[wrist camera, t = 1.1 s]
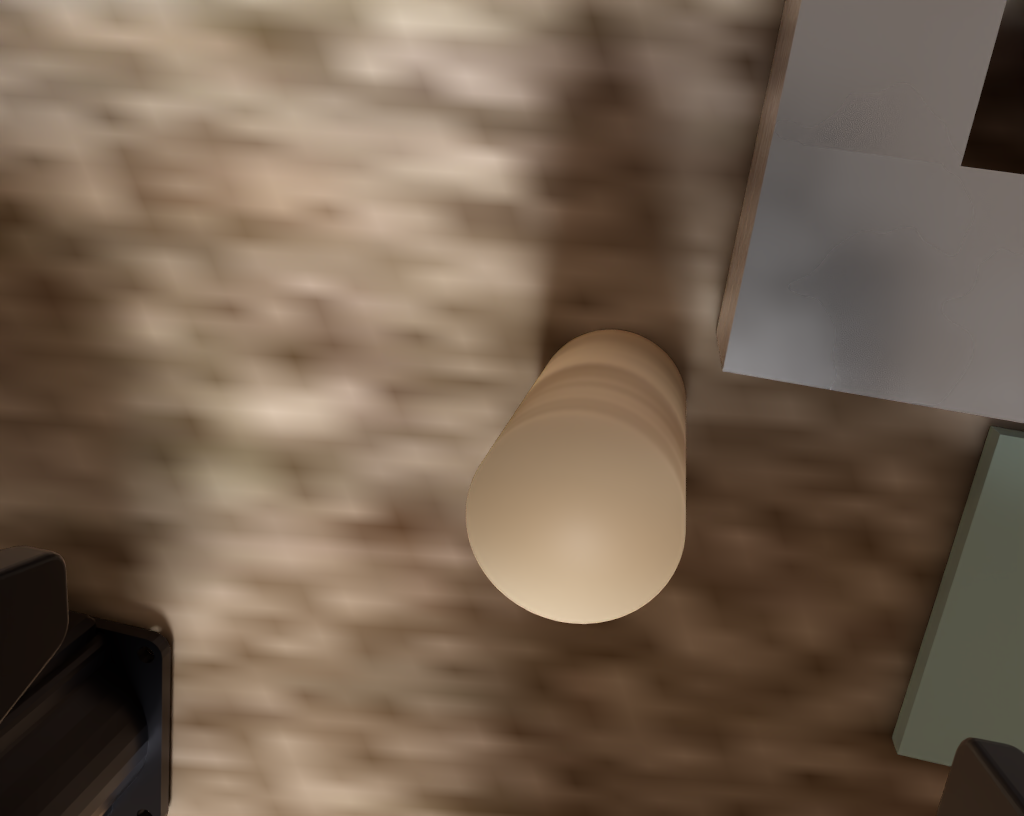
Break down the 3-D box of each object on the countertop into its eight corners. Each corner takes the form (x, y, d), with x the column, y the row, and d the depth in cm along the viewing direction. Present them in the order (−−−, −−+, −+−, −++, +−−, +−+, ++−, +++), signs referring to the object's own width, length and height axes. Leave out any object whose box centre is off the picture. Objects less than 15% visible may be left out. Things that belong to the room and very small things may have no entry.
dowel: (671, 484, 20) (663, 644, 14) (528, 457, 21) (454, 598, 14) (699, 343, 19) (705, 441, 13) (549, 317, 20) (479, 400, 13)
